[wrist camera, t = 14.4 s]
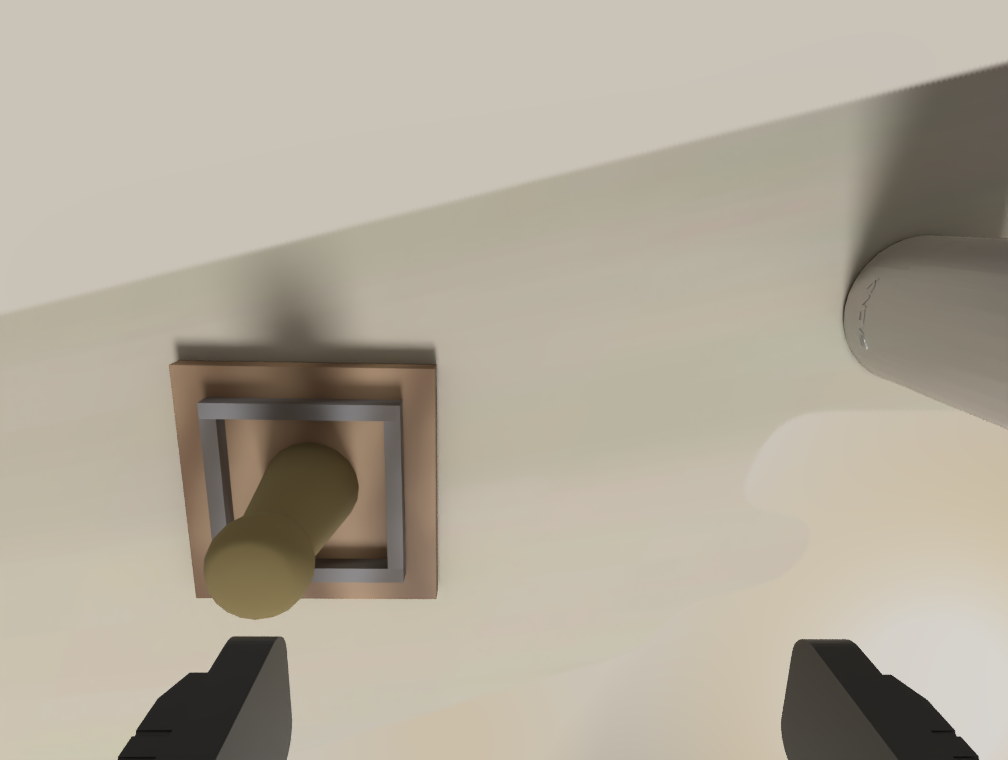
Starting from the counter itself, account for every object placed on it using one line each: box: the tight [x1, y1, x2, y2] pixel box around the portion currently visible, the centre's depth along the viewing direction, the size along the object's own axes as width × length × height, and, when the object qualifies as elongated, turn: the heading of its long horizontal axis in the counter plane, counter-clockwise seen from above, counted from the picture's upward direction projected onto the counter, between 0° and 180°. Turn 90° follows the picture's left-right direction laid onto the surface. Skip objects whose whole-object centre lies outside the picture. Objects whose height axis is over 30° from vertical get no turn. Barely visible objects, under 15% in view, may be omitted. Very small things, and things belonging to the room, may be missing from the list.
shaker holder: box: [169, 361, 438, 599], centre depth 40 cm, size 16×16×2 cm
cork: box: [203, 442, 359, 620], centre depth 35 cm, size 6×6×11 cm
